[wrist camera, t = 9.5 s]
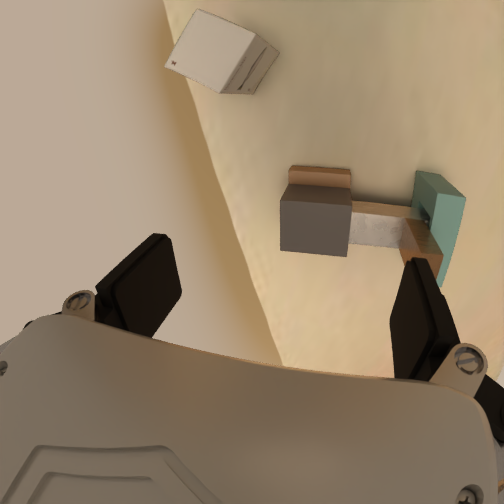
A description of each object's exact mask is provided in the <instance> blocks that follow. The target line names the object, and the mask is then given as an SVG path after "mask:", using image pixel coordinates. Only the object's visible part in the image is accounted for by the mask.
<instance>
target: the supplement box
mask: <svg viewBox="0 0 504 504" xmlns="http://www.w3.org/2000/svg"><path fill="white" fill-rule="evenodd" d="M278 55H279V52H278V51H277V50H276V49H274V48H273V47H272V46H271V45H269V44H268V43H267V42H266V41H265V40H263V39H262V38H261V37H260V36H258V35H257V34H256V33H253V32H251V31H249V30H247V29H245V28H243V27H241V26H239V25H237V24H235V23H232V22H230V21H228V20H226V19H223V18H221V17H219V16H216V15H214V14H211V13H209V12H206V11H204V10H201V9H197V10H196V11H195V12H194V14H193V15H192V17H191V19H190V20H189V22H188V24H187V25H186V27H185V29H184V31H183V32H182V34H181V36H180V37H179V39H178V41H177V43H176V45H175V47H174V49H173V50H172V52H171V54H170V56H169V58H168V60H167V62H166V64H165V67H166V68H168V69H170V70H172V71H174V72H177V73H179V74H181V75H183V76H185V77H187V78H190V79H192V80H194V81H196V82H198V83H200V84H202V85H204V86H206V87H208V88H210V89H212V90H213V91H215V92H217V93H225V94H251V95H252V94H253V93H254V91H255V90H256V88H257V86H258V84H259V83H260V81H261V79H262V78H263V76H264V75H265V73H266V72H267V70H268V69H269V67H270V66H271V64H272V63H273V62H274V60H275V59H276V57H277V56H278Z"/></svg>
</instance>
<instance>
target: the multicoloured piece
mask: <svg viewBox="0 0 504 504" xmlns="http://www.w3.org/2000/svg"><path fill="white" fill-rule="evenodd" d="M430 218H431V217H430V216H429V214H428V213H427V211H426V210H425V209H421V208H413V207H405V206H397V205H389V204H380V203H371V202H362V201H352V215H351V225H350V234H349V242H348V243H350V244H360V245H370V246H380V247H390V248H399V250H400V253H401V256H402V259H403V263H404V266H405V264H406V261H407V260H409V261H411V258H412V257H418V258H426V259H427V260H428V262H429V265H430V267H431V269H432V272H433V274H434V277H435V279H437V276H438V273H439V270H440V267H441V264H442V260H443V257H444V255H443V253H442V251H441V249H440V247H439V245H438V244H437V242H436V240H435V238H434V237H433V235H432V233H431V231H430V230H429V223H430Z"/></svg>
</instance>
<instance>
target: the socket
mask: <svg viewBox="0 0 504 504" xmlns="http://www.w3.org/2000/svg"><path fill="white" fill-rule="evenodd" d="M465 201H466V197H465V196H463V195H462V194H461V193H460V192H459V191H458V190H457V189H456V188H455V187H454V186H453V185H451V184H450V183H449V182H448V181H447V180H446V179H445V178H443V177H442V176H441V175H439V174H433V173H427V172H421V171H416V177H415V184H414V191H413V198H412V204H411V207H413V208H421V209H425V210H426V211H427V213H428V214H429V216H430V217H431V218H430V223H429V230H430V231H431V233H432V235H433V237H434V238H435V240H436V242H437V244H438V245H439V247H440V249H441V251H442V253H443V255H444V257H443V260H442V264H441V267H440V270H439V273H438V276H437V279H436V282H437V284H438V287H442V284H443V281H444V278H445V275H446V272H447V269H448V266H449V263H450V260H451V256H452V253H453V250H454V246H455V243H456V239H457V235H458V231H459V227H460V223H461V219H462V215H463V210H464V206H465Z"/></svg>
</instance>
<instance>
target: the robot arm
mask: <svg viewBox="0 0 504 504" xmlns="http://www.w3.org/2000/svg"><path fill="white" fill-rule="evenodd" d="M95 288H96V290H97V294H96V295H94V293H93V292H92V291H89V290H82V291H78V292H75V293H73V294H72V295H70V296H69V297H68V298H67V299H66V300H65V301H64V304H63V307H62V311H61V312H58V313H55V314H52V315H47V316H42V317H39V318H37V319H36V320H34V321H30V322H28V323H27V324H26V325H25V327H24V328H23V330H22V331H21V332H20V333H19V334H18V335H17V336H16V337H14V338H12V339H11V340H9V341H7V342H5V343H4V344H2V345H1V346H0V504H504V388H503V387H502V386H500V385H499V384H498V383H497V382H495V381H494V380H493V379H491V378H490V377H489V376H488V375H486V372H487V368H488V363H487V359H486V356H485V355H484V353H483V352H482V351H481V350H480V349H479V348H478V347H476V346H474V345H472V344H468V343H460V339H459V336H458V333H457V330H456V327H455V324H454V321H453V318H452V315H451V312H450V310H449V307H448V304H447V301H446V299H445V297H444V295H442V294H441V292H440V289H439V287H438V284H437V282H436V279H435V277H434V274H433V272H432V269H431V267H430V265H429V262H428V260H427V259H426V258H418V257H412V258H411V261H409V260H407V261H406V264H405V268H404V271H403V275H402V279H401V283H400V286H399V290H398V293H397V296H396V300H395V303H394V306H393V310H392V313H391V316H390V332H391V341H392V351H393V362H394V376H395V378H385V377H373V376H360V375H350V374H341V373H331V372H322V371H314V370H306V369H299V368H292V367H285V366H278V365H273V364H267V363H261V362H255V361H249V360H244V359H239V358H234V357H229V356H224V355H219V354H214V353H210V352H206V351H201V350H197V349H193V348H188V347H184V346H180V345H176V344H172V343H168V342H164V341H161V340H157V339H153V338H152V337H153V335H154V334H155V332H156V331H157V329H158V328H159V327H160V325H161V324H162V322H163V321H164V320H165V318H166V317H167V315H168V314H169V312H170V311H171V310H172V308H173V307H174V306H175V304H176V302H177V301H178V300H179V299H180V297H181V294H182V289H181V284H180V280H179V275H178V271H177V266H176V261H175V256H174V252H173V246H172V242H171V239H170V238H168V236H167V235H166V234H157V233H153V234H152V235H151V236H149V237H148V238H147V239H146V240H145V241H144V242H142V243H141V244H140V245H139V246H138V247H137V248H136V249H135V250H133V251H132V252H131V253H130V254H129V255H128V256H127V257H126V258H125V259H123V260H122V261H121V262H120V263H119V264H118V265H117V266H116V267H115V268H114V269H113V270H112V271H111V272H109V274H107V275H106V276H105V277H104V278H103V279H102V280H101V281H100V282H99V283H98V284H97V285H96V286H95Z"/></svg>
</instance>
